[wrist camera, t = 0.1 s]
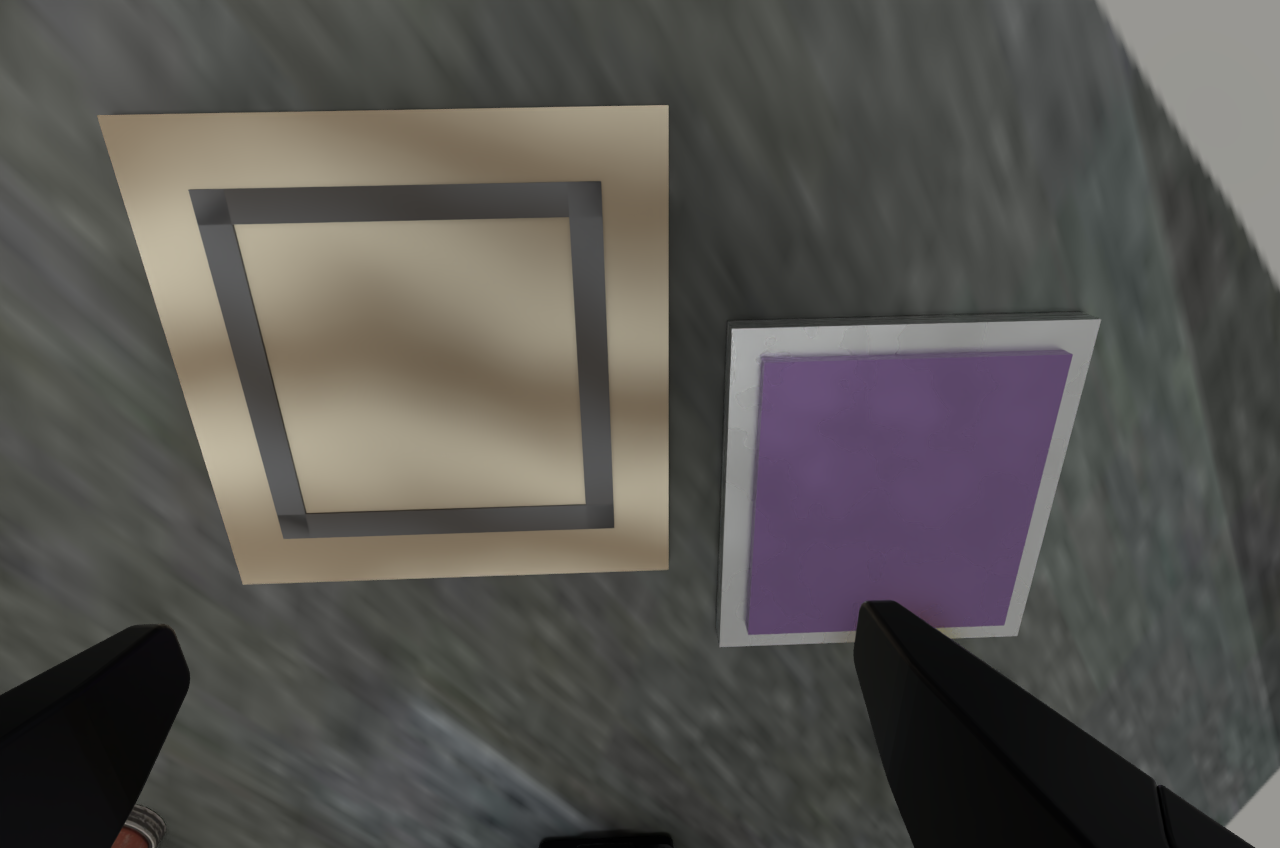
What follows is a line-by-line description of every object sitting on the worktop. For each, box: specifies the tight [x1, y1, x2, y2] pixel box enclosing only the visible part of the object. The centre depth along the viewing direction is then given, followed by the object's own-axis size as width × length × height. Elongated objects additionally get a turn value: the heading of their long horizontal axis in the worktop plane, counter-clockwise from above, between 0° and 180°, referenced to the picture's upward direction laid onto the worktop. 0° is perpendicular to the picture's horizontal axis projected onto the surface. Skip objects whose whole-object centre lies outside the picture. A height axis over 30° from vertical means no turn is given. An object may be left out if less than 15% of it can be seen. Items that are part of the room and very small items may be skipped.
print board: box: [97, 105, 669, 584], centre depth 22 cm, size 16×16×1 cm
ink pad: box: [716, 312, 1101, 647], centre depth 24 cm, size 13×12×2 cm
